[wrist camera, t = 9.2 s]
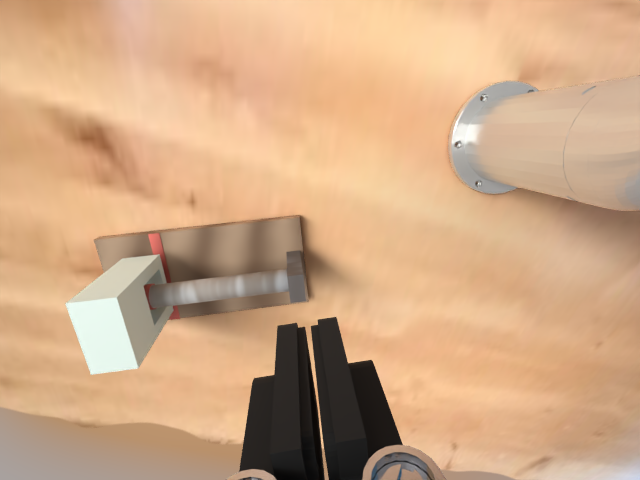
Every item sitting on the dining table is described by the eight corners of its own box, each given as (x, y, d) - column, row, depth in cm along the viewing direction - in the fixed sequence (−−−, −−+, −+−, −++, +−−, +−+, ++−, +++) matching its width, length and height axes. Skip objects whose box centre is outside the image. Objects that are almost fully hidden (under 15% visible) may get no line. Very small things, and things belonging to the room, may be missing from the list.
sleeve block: (159, 254, 37) (116, 297, 28) (173, 310, 40) (138, 368, 30) (122, 258, 37) (65, 303, 27) (138, 314, 39) (91, 374, 30)
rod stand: (299, 215, 40) (303, 235, 33) (307, 297, 44) (313, 334, 36) (99, 236, 39) (52, 264, 31) (124, 320, 42) (88, 364, 34)
